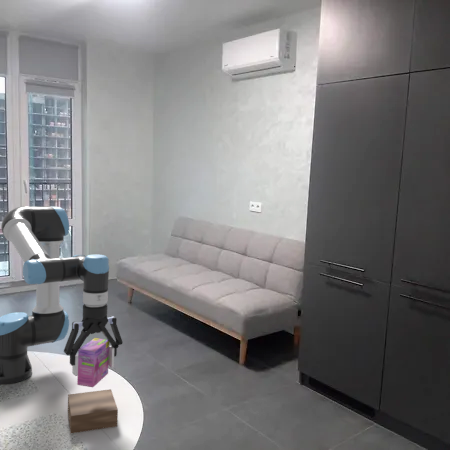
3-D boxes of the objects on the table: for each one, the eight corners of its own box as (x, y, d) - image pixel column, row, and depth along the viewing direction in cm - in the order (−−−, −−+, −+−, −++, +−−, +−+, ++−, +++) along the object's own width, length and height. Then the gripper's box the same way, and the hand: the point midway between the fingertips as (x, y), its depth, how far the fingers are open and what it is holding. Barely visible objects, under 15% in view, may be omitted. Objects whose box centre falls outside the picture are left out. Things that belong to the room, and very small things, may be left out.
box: (93, 387, 141) (94, 351, 140) (76, 385, 142) (77, 348, 141) (108, 374, 151) (109, 339, 150) (92, 371, 152) (93, 337, 151)
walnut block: (67, 411, 152) (68, 394, 151) (110, 405, 157) (111, 389, 157) (70, 434, 139) (71, 416, 139) (117, 427, 145) (117, 409, 144)
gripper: (61, 312, 134) (60, 383, 136) (134, 302, 148) (132, 366, 151) (53, 305, 140) (52, 374, 142) (124, 296, 154) (122, 358, 157)
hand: (93, 370), depth 146 cm, fingers closed on box, 11 cm apart
